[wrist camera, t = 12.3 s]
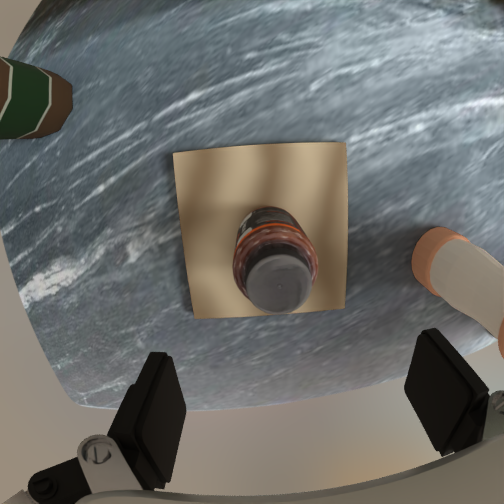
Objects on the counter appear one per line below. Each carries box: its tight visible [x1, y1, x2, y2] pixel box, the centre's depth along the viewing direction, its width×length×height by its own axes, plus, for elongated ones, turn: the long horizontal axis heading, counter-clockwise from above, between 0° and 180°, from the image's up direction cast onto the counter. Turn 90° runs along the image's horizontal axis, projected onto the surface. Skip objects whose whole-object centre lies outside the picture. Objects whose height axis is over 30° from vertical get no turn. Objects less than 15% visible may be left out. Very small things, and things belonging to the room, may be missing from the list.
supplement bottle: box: [232, 206, 318, 315], centre depth 23 cm, size 6×6×11 cm
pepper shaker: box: [411, 227, 504, 358], centre depth 21 cm, size 7×7×19 cm
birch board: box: [173, 142, 348, 319], centre depth 29 cm, size 16×17×1 cm
